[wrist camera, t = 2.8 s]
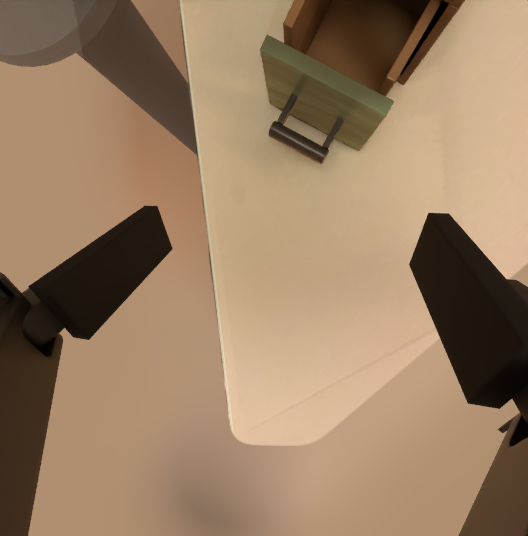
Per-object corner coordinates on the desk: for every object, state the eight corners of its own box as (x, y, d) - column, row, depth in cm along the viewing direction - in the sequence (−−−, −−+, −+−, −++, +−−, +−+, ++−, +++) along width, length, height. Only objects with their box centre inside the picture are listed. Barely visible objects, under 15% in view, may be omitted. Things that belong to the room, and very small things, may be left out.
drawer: (338, 186, 27) (356, 165, 20) (251, 138, 28) (235, 100, 20) (432, 25, 24) (497, -74, 17) (333, -26, 25) (351, -144, 17)
